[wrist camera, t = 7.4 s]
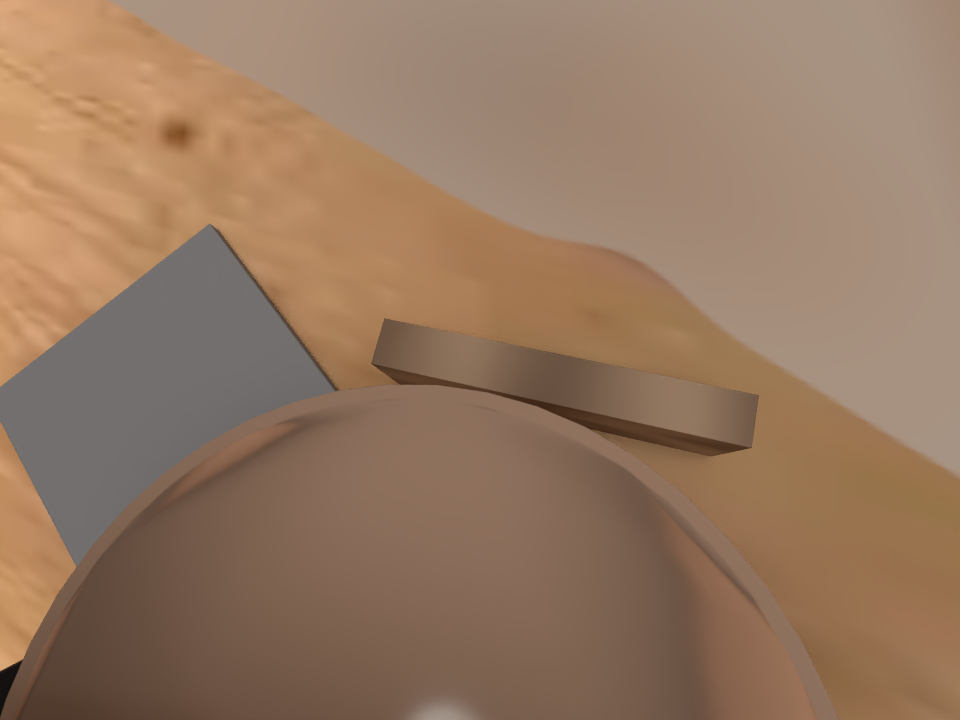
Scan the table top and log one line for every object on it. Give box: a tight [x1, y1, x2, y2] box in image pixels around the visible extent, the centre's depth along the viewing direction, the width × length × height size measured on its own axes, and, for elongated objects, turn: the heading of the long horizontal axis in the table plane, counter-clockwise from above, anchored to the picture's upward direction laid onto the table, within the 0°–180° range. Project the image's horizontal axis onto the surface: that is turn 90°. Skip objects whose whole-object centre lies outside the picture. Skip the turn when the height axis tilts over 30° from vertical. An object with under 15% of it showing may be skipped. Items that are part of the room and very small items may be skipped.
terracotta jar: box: [0, 385, 839, 720], centre depth 9 cm, size 5×5×13 cm
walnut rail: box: [371, 318, 759, 456], centre depth 19 cm, size 12×2×4 cm, turn 76°
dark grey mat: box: [0, 224, 338, 567], centre depth 22 cm, size 12×12×1 cm
